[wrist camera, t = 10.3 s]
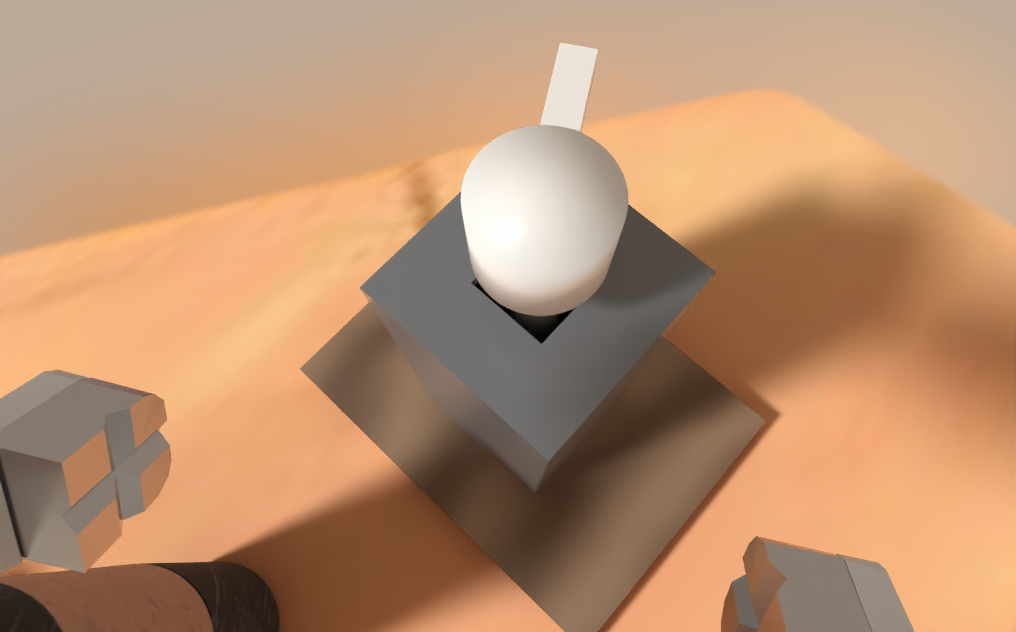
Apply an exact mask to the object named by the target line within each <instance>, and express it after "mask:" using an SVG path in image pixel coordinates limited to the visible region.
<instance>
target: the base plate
mask: <svg viewBox="0 0 1016 632" xmlns="http://www.w3.org/2000/svg"><path fill="white" fill-rule="evenodd" d="M300 369H301V370H302V371H303V372H304V373H305V374H306V375H307V376H308V377H309V378H310V379H311V380H312V381H313V382H314V383H315V384H316V385H317V386H318V387H319V388H320V389H321V390H322V391H323V392H324V393H325V394H326V395H327V396H328V397H329V398H330V399H331V400H332V401H333V402H334V403H335V404H336V405H337V406H338V407H339V408H340V409H341V410H342V411H343V412H344V413H345V414H346V415H347V416H348V417H349V418H350V419H351V420H352V421H353V422H354V423H355V424H356V425H357V426H358V427H359V428H360V429H361V430H362V431H363V432H364V433H365V434H366V435H367V436H368V437H369V438H370V439H371V440H372V441H373V442H374V443H375V444H376V445H377V446H378V447H379V448H380V449H381V450H382V451H383V452H384V453H385V454H386V455H387V456H388V457H389V458H390V459H391V460H392V461H393V462H394V463H395V464H396V465H397V466H398V467H399V468H400V469H401V470H402V471H403V472H404V473H405V474H406V475H407V476H408V477H409V478H410V479H411V480H412V481H413V482H414V483H415V484H416V485H418V486H419V487H420V488H421V489H422V490H423V491H424V492H425V493H426V494H427V495H428V496H429V497H430V498H431V499H432V500H433V501H434V502H435V503H436V504H437V505H438V506H439V507H440V508H441V509H442V510H443V511H444V512H445V513H446V514H447V515H448V516H449V517H450V518H451V519H452V520H453V521H454V522H455V523H456V524H457V525H458V526H459V527H460V528H461V529H462V530H463V531H464V532H465V533H466V534H467V535H468V536H469V537H470V538H471V539H472V540H473V541H474V542H475V543H476V544H477V545H478V546H479V547H480V548H481V549H482V550H483V551H484V552H485V553H486V554H487V555H488V556H489V557H490V558H491V559H492V560H493V561H494V562H495V563H496V564H497V565H498V566H499V567H500V568H501V569H502V570H503V571H504V572H505V573H506V574H507V575H508V576H509V577H510V578H511V579H512V580H513V581H514V582H515V583H516V584H517V585H518V586H519V587H520V588H521V589H522V590H523V591H524V592H525V593H526V594H527V595H528V596H529V597H530V598H531V599H532V600H533V601H534V602H535V603H536V604H537V605H538V606H539V607H540V608H541V609H542V610H543V611H544V612H546V613H547V614H548V615H549V616H550V617H551V618H552V619H553V620H554V621H555V622H556V623H557V624H558V625H559V626H560V627H561V628H562V629H563V630H564V631H565V632H598V631H599V629H600V628H601V627H602V626H603V624H604V623H605V622H606V621H607V619H608V618H609V617H610V616H611V614H612V613H613V612H614V611H615V609H616V608H617V607H618V606H619V604H620V603H621V602H622V601H623V599H624V598H625V597H626V596H627V594H628V593H629V592H630V591H631V589H632V588H633V587H634V586H635V584H636V583H637V582H638V581H639V579H640V578H641V577H642V576H643V574H644V573H645V572H646V571H647V569H648V568H649V567H650V566H651V564H652V563H653V562H654V561H655V559H656V558H657V557H658V556H659V554H660V553H661V552H662V551H663V549H664V548H665V547H666V546H667V544H668V543H669V542H670V541H671V539H672V538H673V537H674V536H675V534H676V533H677V532H678V531H679V529H680V528H681V527H682V526H683V524H684V523H685V522H686V521H687V519H688V518H689V517H690V516H691V514H692V513H693V512H694V511H695V509H696V508H697V507H698V506H699V504H700V503H701V502H702V501H703V499H704V498H705V497H706V496H707V494H708V493H709V492H710V491H711V489H712V488H713V487H714V486H715V484H716V483H717V482H718V481H719V479H720V478H721V477H722V476H723V474H724V473H725V472H726V471H727V469H728V468H729V467H730V466H731V464H732V463H733V462H734V461H735V459H736V458H737V457H738V456H739V454H740V453H741V452H742V451H743V449H744V448H745V447H746V446H747V444H748V443H749V442H750V441H751V439H752V438H753V437H754V436H755V434H756V433H757V432H758V431H759V429H760V428H761V427H762V426H763V424H764V423H765V422H766V420H764V419H763V418H762V417H761V416H760V415H758V414H757V413H756V412H755V411H753V410H752V409H751V408H750V407H749V406H747V405H746V404H745V403H744V402H742V401H741V400H740V399H739V398H738V397H736V396H735V395H734V394H733V393H731V392H730V391H729V390H728V389H727V388H725V387H724V386H723V385H722V384H720V383H719V382H718V381H717V380H716V379H714V378H713V377H712V376H711V375H710V374H708V373H707V372H706V371H705V370H703V369H702V368H701V367H700V366H699V365H697V364H696V363H695V362H694V361H692V360H691V359H690V358H689V357H688V356H686V355H685V354H684V353H683V352H681V351H680V350H679V349H678V348H677V347H675V346H674V345H673V344H672V343H670V342H669V341H668V340H667V339H666V338H665V340H664V341H663V342H662V344H661V345H660V346H659V348H658V349H657V350H656V352H655V353H654V354H653V356H652V357H651V358H650V359H649V361H648V362H647V363H646V365H645V366H644V367H643V369H642V370H641V371H640V373H639V374H638V375H637V377H636V378H635V379H634V381H633V382H632V383H631V385H630V386H629V387H628V388H627V390H626V391H625V392H624V393H623V394H622V396H621V397H620V398H619V399H618V400H617V401H616V402H615V404H614V405H613V406H612V407H611V408H610V409H609V410H608V411H607V413H606V414H605V415H604V416H603V417H602V418H601V419H600V421H599V422H598V423H597V424H596V425H595V426H594V427H593V429H592V430H591V431H590V432H589V433H588V434H587V435H586V437H585V438H584V439H583V440H582V441H581V442H580V443H579V445H578V446H577V447H576V448H575V449H574V450H573V451H572V453H571V454H570V455H569V456H568V457H567V458H566V459H565V460H564V462H563V463H562V464H561V465H560V466H559V467H558V468H557V470H556V471H555V472H554V473H553V474H552V475H551V476H550V478H549V479H548V480H547V481H546V482H545V483H544V484H543V486H542V487H541V488H540V489H539V490H538V491H537V492H536V494H535V495H533V494H532V493H531V492H530V491H529V490H528V489H527V488H526V487H525V486H524V485H523V484H521V483H520V482H519V481H518V480H517V479H516V478H515V477H514V476H513V475H512V474H511V473H510V472H509V471H508V470H507V469H506V468H505V467H503V466H502V465H501V464H500V463H499V462H498V461H497V460H496V459H495V458H494V457H493V456H492V455H491V454H490V453H489V452H488V451H486V450H485V449H484V448H483V447H482V446H481V445H480V444H479V443H478V442H477V441H476V440H475V439H474V438H473V437H472V436H471V435H470V434H468V433H467V432H466V431H465V430H464V429H463V428H462V427H461V426H460V425H459V424H458V423H457V422H456V421H455V420H454V419H453V418H452V417H450V416H449V415H448V414H447V413H446V412H445V411H444V410H443V409H442V408H441V407H440V406H439V405H438V404H437V403H436V402H435V401H433V400H432V399H431V397H430V396H429V394H428V392H427V391H426V389H425V388H424V386H423V385H422V383H421V382H420V380H419V379H418V377H417V375H416V374H415V372H414V371H413V369H412V368H411V366H410V365H409V363H408V361H407V360H406V358H405V357H404V355H403V354H402V352H401V351H400V349H399V348H398V346H397V344H396V343H395V341H394V340H393V338H392V337H391V335H390V334H389V332H388V330H387V329H386V327H385V326H384V324H383V323H382V321H381V320H380V318H379V317H378V315H377V313H376V312H375V310H374V309H373V307H372V306H371V304H370V303H368V304H367V305H366V306H365V307H364V308H363V309H362V310H361V311H360V312H359V313H357V314H356V315H355V316H354V317H353V318H352V319H351V320H350V321H349V322H348V323H347V324H346V325H345V326H344V327H343V328H342V329H341V330H340V331H339V332H338V333H337V334H336V335H335V336H334V337H332V338H331V339H330V340H329V341H328V342H327V343H326V344H325V345H324V346H323V347H322V348H321V349H320V350H319V351H318V352H317V353H316V354H315V355H314V356H313V357H312V358H311V359H310V360H308V361H307V362H306V363H305V364H304V365H303V366H302V367H301V368H300Z"/></svg>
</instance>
